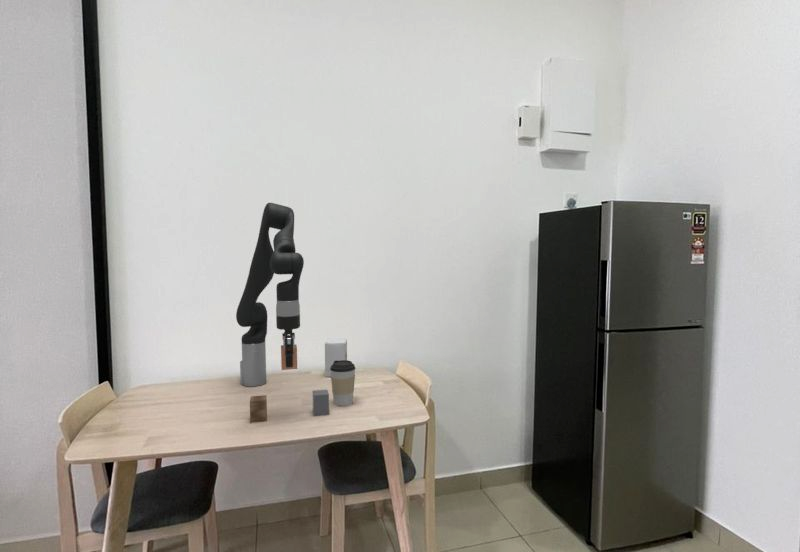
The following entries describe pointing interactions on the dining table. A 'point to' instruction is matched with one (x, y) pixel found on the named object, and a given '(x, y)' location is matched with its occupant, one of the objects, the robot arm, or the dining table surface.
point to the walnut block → (258, 408)
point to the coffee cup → (342, 382)
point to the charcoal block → (320, 402)
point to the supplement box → (334, 353)
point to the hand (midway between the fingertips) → (289, 364)
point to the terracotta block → (283, 358)
